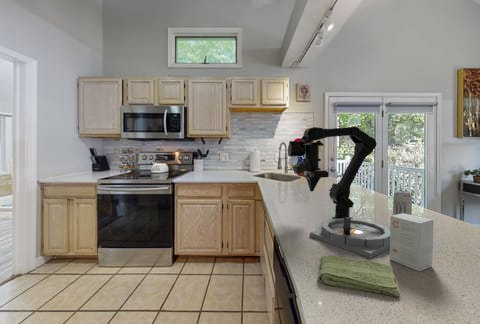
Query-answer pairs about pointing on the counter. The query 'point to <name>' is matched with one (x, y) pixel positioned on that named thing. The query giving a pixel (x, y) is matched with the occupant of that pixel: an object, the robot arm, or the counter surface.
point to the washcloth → (358, 275)
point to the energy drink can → (402, 203)
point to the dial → (355, 229)
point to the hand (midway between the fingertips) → (311, 191)
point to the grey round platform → (355, 238)
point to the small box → (411, 241)
